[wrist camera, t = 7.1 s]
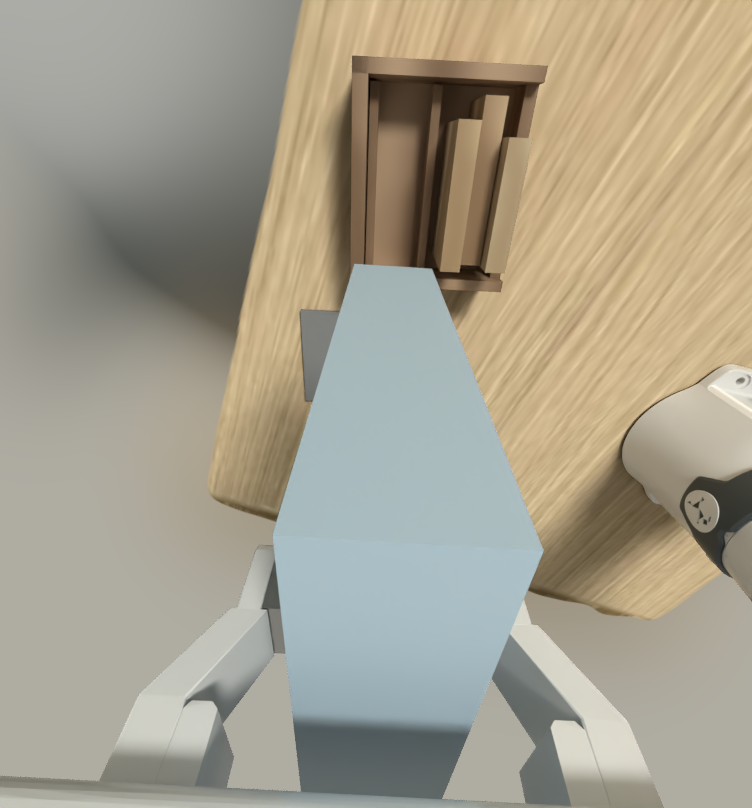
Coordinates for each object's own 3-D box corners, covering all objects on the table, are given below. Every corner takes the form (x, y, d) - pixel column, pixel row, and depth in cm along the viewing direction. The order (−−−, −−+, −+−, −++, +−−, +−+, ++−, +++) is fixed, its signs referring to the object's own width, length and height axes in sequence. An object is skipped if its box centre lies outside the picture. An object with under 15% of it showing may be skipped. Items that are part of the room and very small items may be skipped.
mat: (426, 315, 39) (427, 316, 38) (416, 403, 44) (417, 405, 44) (301, 309, 39) (300, 310, 38) (306, 398, 44) (305, 400, 44)
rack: (524, 77, 29) (547, 65, 25) (487, 275, 37) (500, 292, 32) (356, 68, 29) (352, 55, 25) (354, 268, 37) (350, 284, 32)
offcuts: (511, 104, 29) (542, 94, 23) (484, 255, 34) (504, 276, 29) (448, 101, 29) (463, 90, 23) (431, 252, 34) (440, 273, 29)
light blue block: (432, 268, 17) (543, 550, 5) (407, 458, 22) (433, 819, 10) (354, 263, 17) (271, 535, 5) (348, 454, 22) (303, 813, 10)
